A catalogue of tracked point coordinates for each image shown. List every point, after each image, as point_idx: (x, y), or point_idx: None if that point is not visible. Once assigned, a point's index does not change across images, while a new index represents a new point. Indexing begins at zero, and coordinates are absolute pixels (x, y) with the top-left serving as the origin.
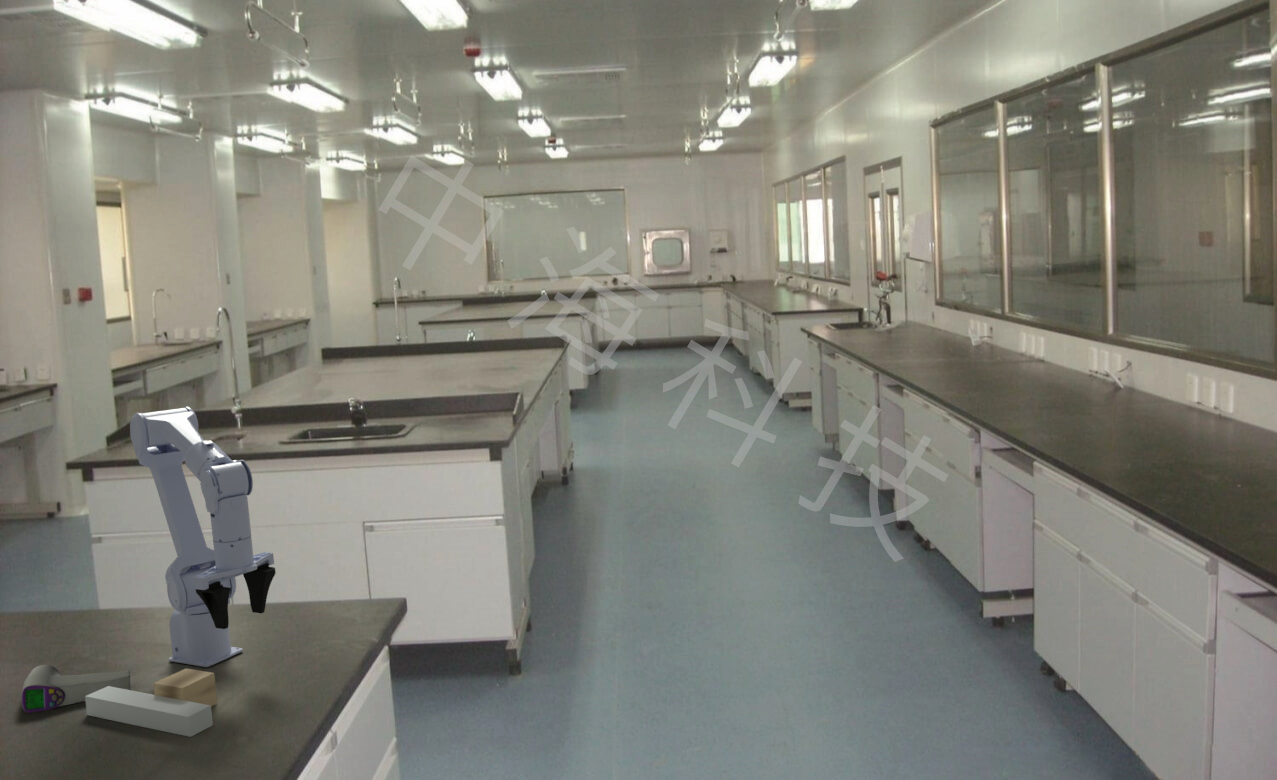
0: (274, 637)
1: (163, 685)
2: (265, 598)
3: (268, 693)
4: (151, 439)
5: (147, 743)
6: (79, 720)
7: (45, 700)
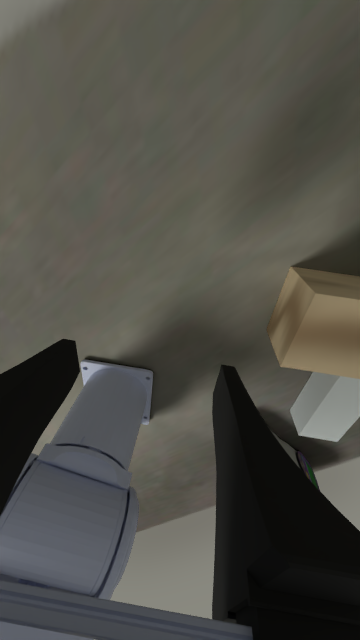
0: (18, 348)
1: None
2: (25, 365)
3: (234, 183)
4: None
5: None
6: None
7: (306, 467)
